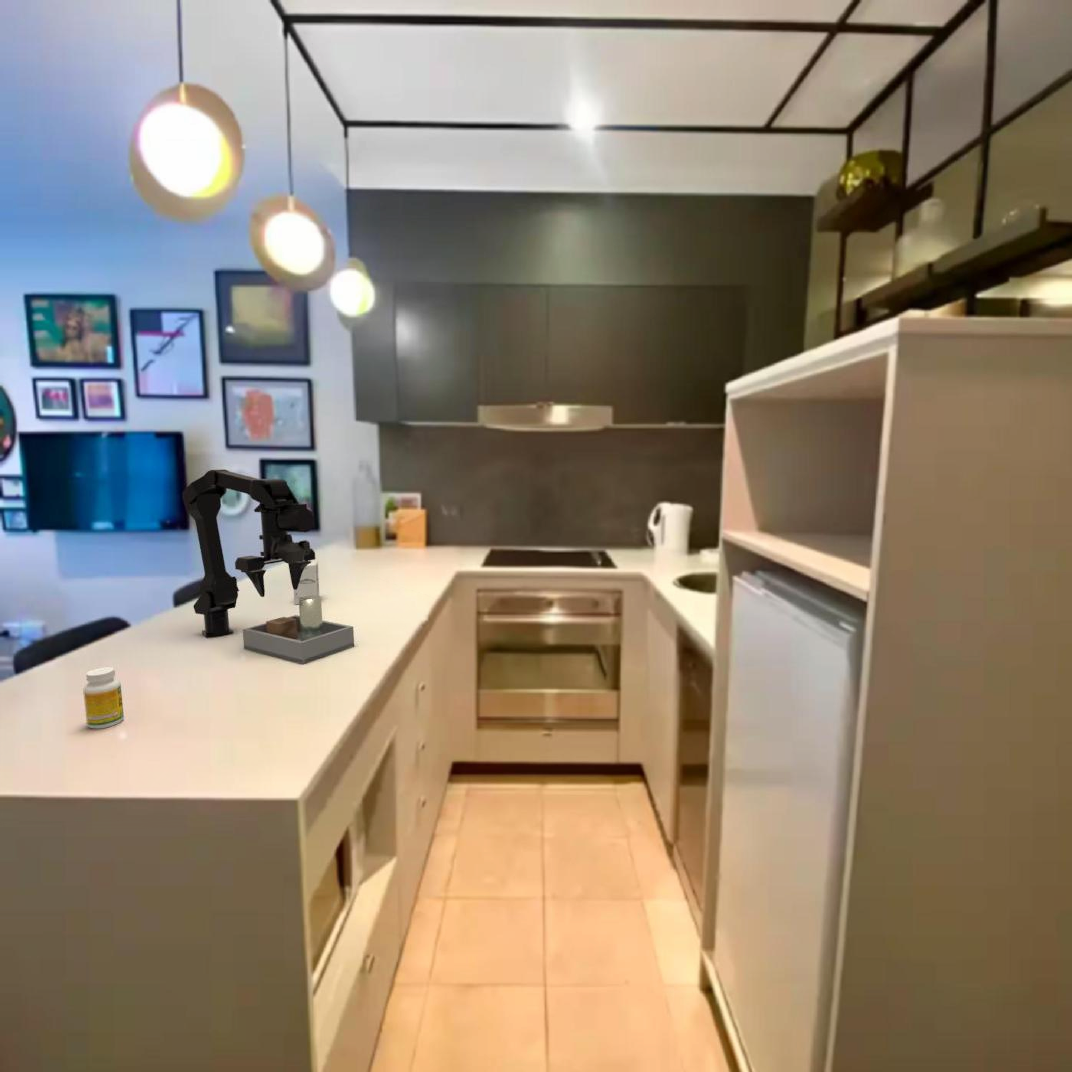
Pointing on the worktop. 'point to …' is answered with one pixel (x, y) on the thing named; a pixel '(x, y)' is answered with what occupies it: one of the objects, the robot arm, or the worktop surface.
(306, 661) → the tote
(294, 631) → the walnut cube
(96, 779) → the worktop surface
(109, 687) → the supplement bottle
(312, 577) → the supplement box
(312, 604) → the sage tin
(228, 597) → the robot arm
